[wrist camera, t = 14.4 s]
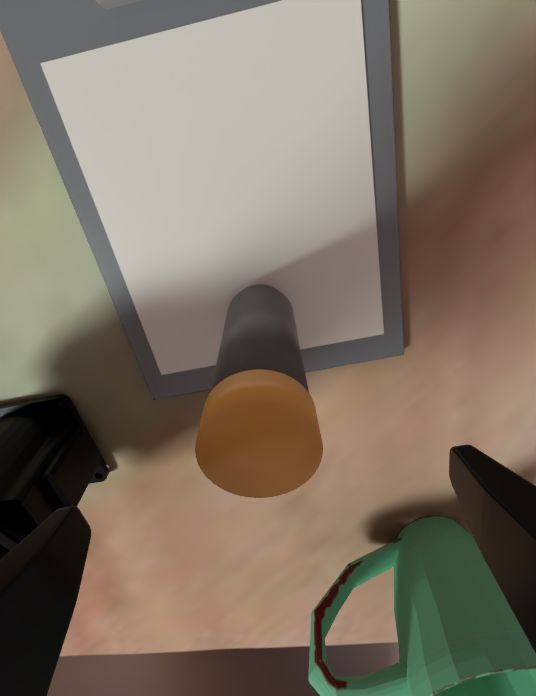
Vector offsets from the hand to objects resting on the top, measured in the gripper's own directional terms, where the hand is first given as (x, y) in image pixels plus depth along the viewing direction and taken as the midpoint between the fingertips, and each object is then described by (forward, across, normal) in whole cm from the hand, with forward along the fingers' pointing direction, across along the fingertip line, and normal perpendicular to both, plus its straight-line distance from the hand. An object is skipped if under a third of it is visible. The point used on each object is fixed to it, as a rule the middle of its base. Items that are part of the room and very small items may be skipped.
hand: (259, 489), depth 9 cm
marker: (+11, 0, 0) cm, 11 cm away
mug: (+12, -6, +20) cm, 24 cm away
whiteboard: (+12, 0, -5) cm, 13 cm away
